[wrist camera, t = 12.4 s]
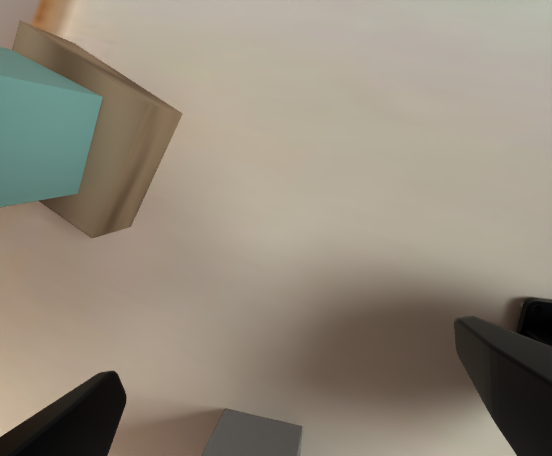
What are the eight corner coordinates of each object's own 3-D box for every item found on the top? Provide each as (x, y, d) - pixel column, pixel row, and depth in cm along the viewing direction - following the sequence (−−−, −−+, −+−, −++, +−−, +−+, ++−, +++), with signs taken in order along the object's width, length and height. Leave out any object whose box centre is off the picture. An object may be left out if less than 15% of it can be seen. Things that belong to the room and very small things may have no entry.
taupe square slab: (185, 114, 21) (147, 104, 17) (134, 225, 23) (91, 238, 20) (78, 45, 21) (19, 20, 18) (41, 160, 24) (-18, 160, 20)
